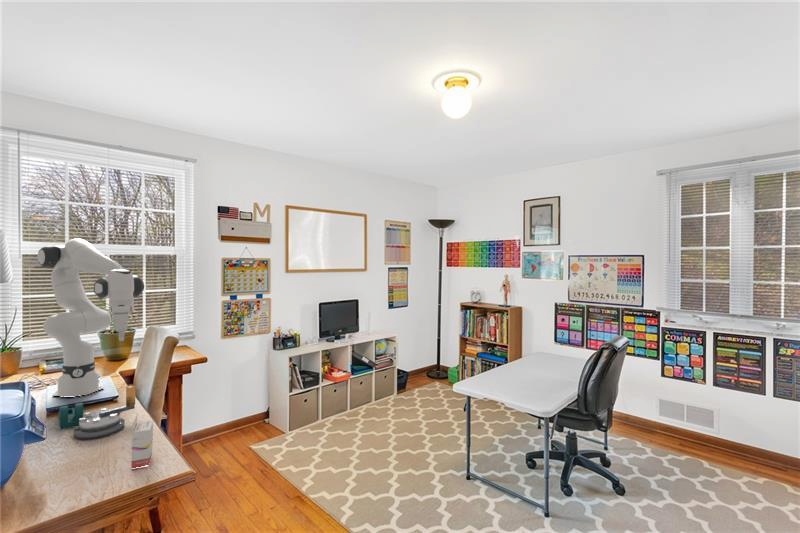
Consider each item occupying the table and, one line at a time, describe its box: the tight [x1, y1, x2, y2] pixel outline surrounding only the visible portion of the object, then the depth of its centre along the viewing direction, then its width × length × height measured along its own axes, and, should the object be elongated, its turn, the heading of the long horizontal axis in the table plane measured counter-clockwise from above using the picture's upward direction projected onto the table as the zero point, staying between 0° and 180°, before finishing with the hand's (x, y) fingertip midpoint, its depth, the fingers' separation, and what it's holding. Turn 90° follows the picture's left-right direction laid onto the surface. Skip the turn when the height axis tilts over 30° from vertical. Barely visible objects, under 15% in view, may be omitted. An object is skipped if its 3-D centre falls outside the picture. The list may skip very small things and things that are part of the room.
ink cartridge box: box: [130, 413, 154, 468], centre depth 122 cm, size 9×5×15 cm, turn 27°
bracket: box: [58, 402, 85, 431], centre depth 153 cm, size 18×7×8 cm, turn 43°
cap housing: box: [73, 417, 126, 441], centre depth 144 cm, size 15×15×2 cm
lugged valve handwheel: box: [79, 385, 136, 432], centre depth 146 cm, size 18×12×12 cm
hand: (121, 339), depth 165 cm, fingers open, 8 cm apart
